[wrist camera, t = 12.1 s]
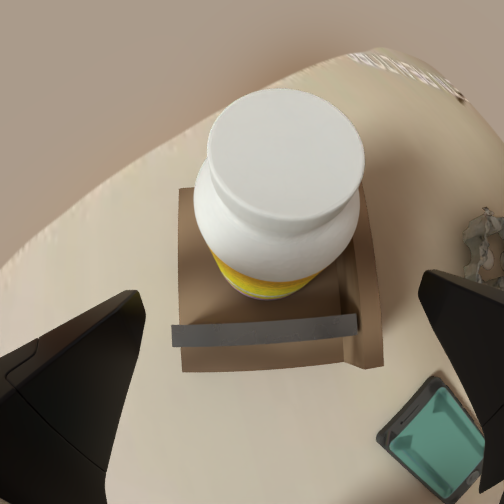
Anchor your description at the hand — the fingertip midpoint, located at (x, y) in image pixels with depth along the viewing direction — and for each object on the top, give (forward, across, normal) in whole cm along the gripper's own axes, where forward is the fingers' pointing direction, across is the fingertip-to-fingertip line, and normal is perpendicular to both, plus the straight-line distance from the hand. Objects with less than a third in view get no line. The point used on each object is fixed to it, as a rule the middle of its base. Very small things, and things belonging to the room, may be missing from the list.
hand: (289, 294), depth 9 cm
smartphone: (0, +15, -20) cm, 25 cm away
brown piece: (+11, 0, -7) cm, 14 cm away
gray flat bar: (+7, -1, -9) cm, 11 cm away
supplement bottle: (+11, 0, -5) cm, 12 cm away
